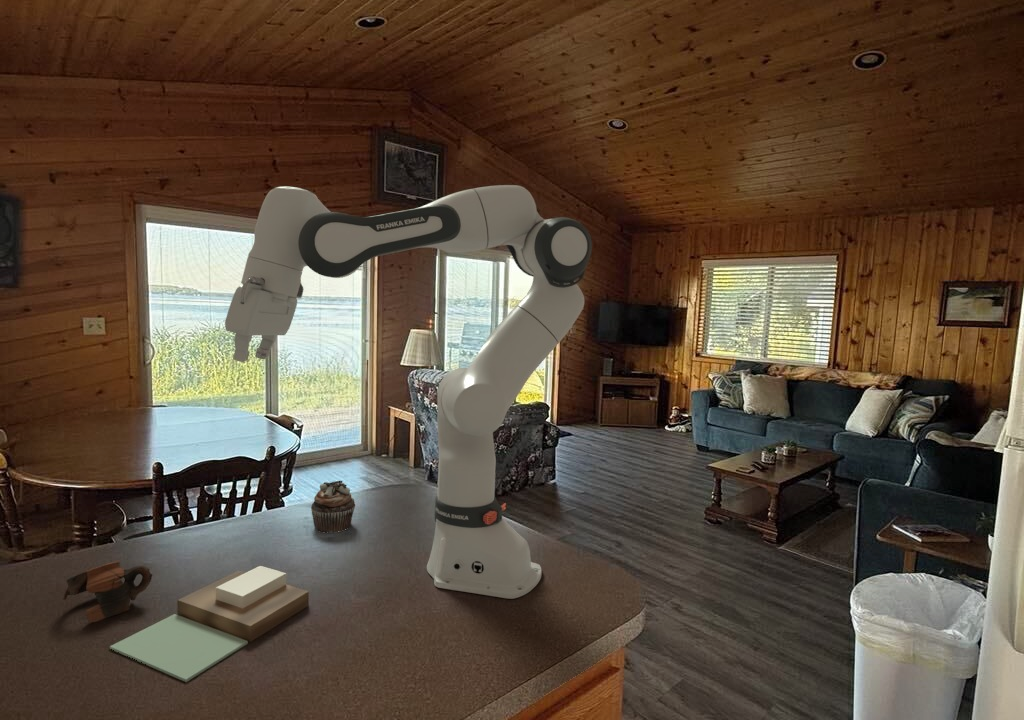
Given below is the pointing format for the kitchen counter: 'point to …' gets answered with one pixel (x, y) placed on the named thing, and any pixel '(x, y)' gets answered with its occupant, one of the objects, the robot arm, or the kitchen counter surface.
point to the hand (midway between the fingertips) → (251, 359)
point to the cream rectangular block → (250, 586)
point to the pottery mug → (109, 588)
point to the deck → (242, 609)
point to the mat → (179, 647)
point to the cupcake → (332, 507)
